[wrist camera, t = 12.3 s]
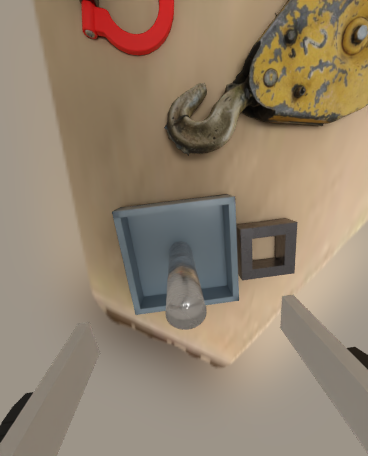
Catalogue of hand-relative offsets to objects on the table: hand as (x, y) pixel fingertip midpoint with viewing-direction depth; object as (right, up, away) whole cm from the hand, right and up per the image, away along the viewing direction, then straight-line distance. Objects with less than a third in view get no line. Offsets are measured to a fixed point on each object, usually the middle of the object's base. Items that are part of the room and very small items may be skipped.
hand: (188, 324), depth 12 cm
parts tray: (-1, +3, +14) cm, 14 cm away
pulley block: (+11, +24, +9) cm, 28 cm away
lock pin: (-1, +3, +13) cm, 14 cm away
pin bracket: (+11, +4, +15) cm, 19 cm away
